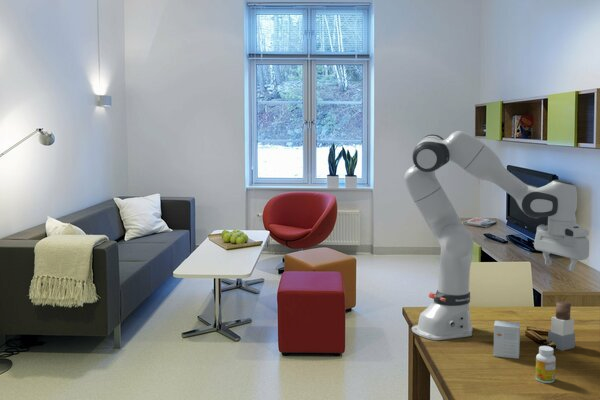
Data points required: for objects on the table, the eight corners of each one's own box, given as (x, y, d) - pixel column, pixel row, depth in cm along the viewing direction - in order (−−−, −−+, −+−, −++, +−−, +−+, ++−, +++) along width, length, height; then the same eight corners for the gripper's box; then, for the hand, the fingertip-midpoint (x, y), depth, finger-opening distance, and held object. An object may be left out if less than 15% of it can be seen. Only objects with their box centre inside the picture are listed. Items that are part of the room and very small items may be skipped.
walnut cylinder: (563, 320, 210) (564, 306, 210) (552, 317, 214) (553, 302, 214) (573, 318, 212) (573, 304, 212) (562, 315, 216) (562, 300, 216)
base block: (562, 350, 211) (562, 336, 210) (547, 345, 216) (548, 331, 215) (574, 347, 213) (575, 333, 213) (559, 342, 219) (560, 328, 218)
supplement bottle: (532, 376, 190) (533, 345, 189) (549, 375, 191) (550, 344, 189) (540, 383, 185) (541, 351, 184) (558, 383, 185) (559, 351, 184)
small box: (519, 353, 209) (520, 322, 208) (519, 359, 204) (520, 327, 202) (493, 350, 211) (494, 319, 210) (493, 356, 206) (494, 325, 205)
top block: (562, 335, 211) (563, 321, 210) (550, 331, 215) (551, 317, 214) (573, 333, 213) (574, 319, 212) (561, 329, 217) (561, 315, 217)
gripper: (531, 223, 223) (529, 262, 225) (580, 233, 205) (577, 275, 207) (543, 222, 226) (541, 260, 228) (593, 231, 208) (590, 273, 210)
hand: (559, 267), depth 217 cm, fingers open, 8 cm apart
